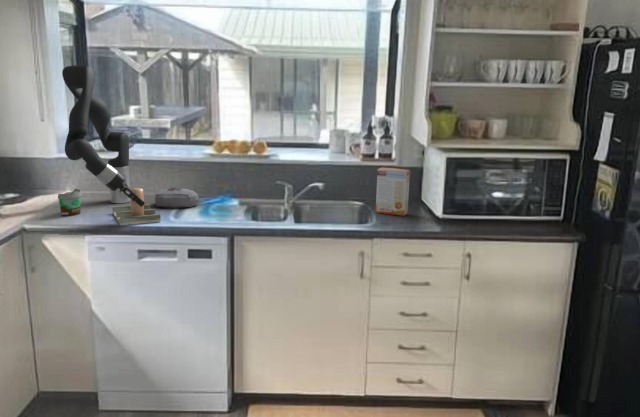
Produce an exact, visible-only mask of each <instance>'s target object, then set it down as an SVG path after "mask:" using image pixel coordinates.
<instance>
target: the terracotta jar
mask: <svg viewBox="0 0 640 417" xmlns="http://www.w3.org/2000/svg"><path fill="white" fill-rule="evenodd" d="M131 190H133V191H134V192H135V195H137V196H138V197H139V198H140V199H141V200H142V201H143V202H144V203H145V200H144V199H145V198H144V188H142V187H133V188H131ZM131 190H130V191H131ZM134 197H135V196H134V195H133V196H132V198H134ZM130 200H131V201H130V206H131V215H132V216H143V215H144V205H145V204H144V205H143V206H142V207H141V206H140V205H138V204H137V203H136V202H134V201H132V199H130Z"/></svg>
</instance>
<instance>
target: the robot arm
mask: <svg viewBox="0 0 640 417" xmlns="http://www.w3.org/2000/svg"><path fill="white" fill-rule="evenodd" d="M61 73H62V78H63V81H64V84H65V86H66V87H67V88H68V90H69V91H70V92H71V94H72V95H73V96H74V97H75V99H76V100H77V101H76V102H75V104H74V105H73V106H72V108H71V110H70V112H69V116H68V132H67V136H66V139H65V144H64V153H65V156H66V157H67V158H68V159H69V160H71V161H78V160H81V159H83V160H84V162H85V169H87V171H88V172H89V173H91V174H92V175H93V176H95V177H96V178H97V179H98V181H99V182H100V183H102V184H103V185H105V186H106V187H107V188H108V189H109V198H110V199H109V202H110V203H113V204H124V203H125V204H126V203H131V199H132V201H134V202H136V203H137V204H138V205H140V206H141V207H142V206H143V205H145V201H144V202H143V201H142V200H141V199H140V198H139V197H138V196H137V195H135V192H134V191H133V190H131V189H132V188H131V184H130V182H131V181H130V165H129V164H130V163H129V161H130V138H129V135H128V133H126V132H125V131H111V130H110V129H109V128H108V126H109V124H110V120H111V113H110V110H109V108H108V107H107V104H106V103H105V102H104V100H103V99H101V98H100V97H99V96H97V95H96V94H94V87H95V82H96V81H95V79H96V78H95V72H94V69H93V68H92V67H91V66H90V65H89V64H76V65H68V66H65V67H63V69H62V72H61ZM89 121H90V123H91V124H92V126H93V127H94V130H95V131H96V133H97V135H98V138H99V139H100V142H101V144H102V146H103V148H104V150H106V151H108V152H112V153H113V152H118V154H117V156H116V157H114V158H110V159H108V160H107V161H106V160H104V159H103V158H102V157H101V156H100V155H99V154H98V152H97V151H96V149H95V148H94V147H93V145H92V144H91V143H90V142H88V141H87V140H85V137H86V136H87V135H88V131H89ZM130 190H131V191H130ZM133 195H134V196H135V197H134V198H132V196H133Z"/></svg>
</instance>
